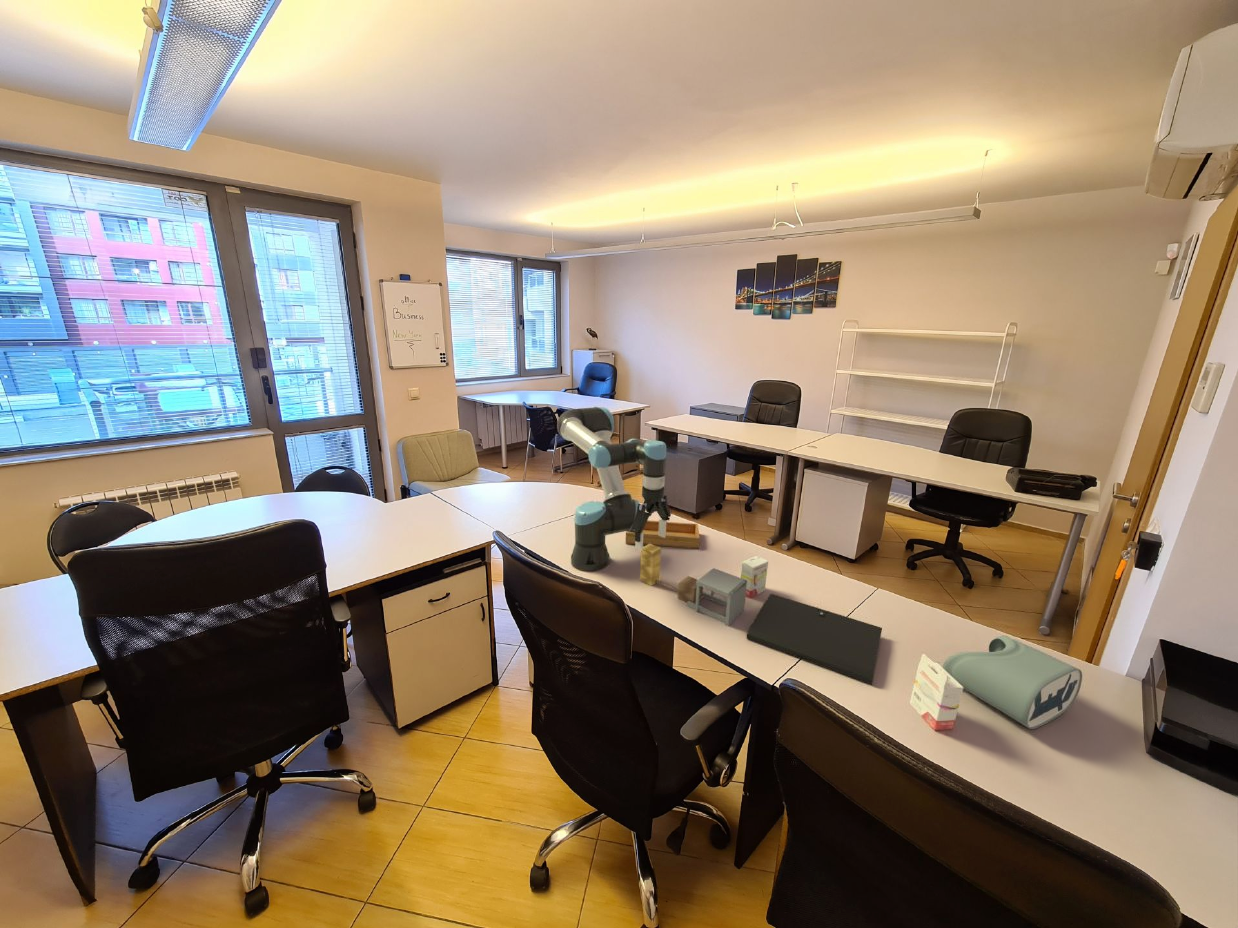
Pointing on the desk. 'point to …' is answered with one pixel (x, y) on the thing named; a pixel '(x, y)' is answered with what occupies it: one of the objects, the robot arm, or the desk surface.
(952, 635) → the desk surface
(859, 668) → the file folder
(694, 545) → the tray
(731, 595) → the box
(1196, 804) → the desk surface
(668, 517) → the robot arm
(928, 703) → the ink cartridge box
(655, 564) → the block
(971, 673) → the green hollow piece
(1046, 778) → the desk surface
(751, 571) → the ink box
